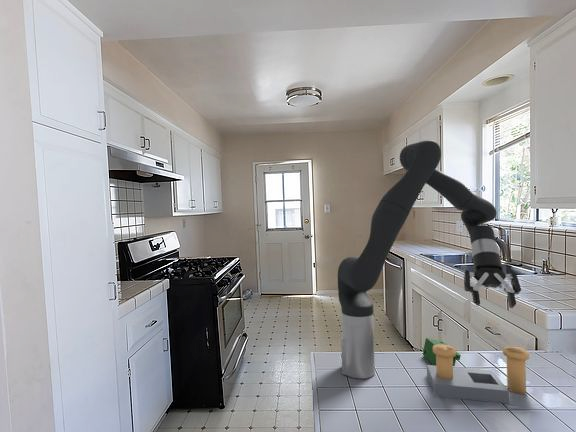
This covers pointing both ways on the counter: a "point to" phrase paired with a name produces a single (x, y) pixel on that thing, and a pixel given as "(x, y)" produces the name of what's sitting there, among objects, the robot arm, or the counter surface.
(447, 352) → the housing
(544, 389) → the counter surface
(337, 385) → the counter surface
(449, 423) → the counter surface
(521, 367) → the tan peg
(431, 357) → the clamp
